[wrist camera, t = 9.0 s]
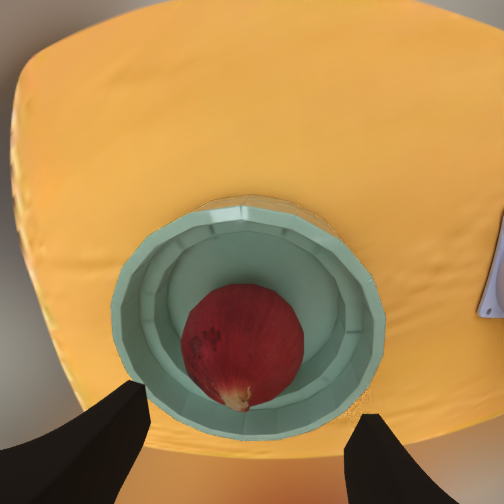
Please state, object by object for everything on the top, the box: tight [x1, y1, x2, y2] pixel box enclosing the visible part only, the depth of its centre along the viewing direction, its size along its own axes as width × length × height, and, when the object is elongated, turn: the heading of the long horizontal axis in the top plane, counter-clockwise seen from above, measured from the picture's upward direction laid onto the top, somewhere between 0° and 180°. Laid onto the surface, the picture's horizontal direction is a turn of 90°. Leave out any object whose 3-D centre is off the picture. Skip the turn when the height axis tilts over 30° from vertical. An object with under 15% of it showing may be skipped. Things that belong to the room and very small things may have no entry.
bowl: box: [111, 195, 386, 441], centre depth 16 cm, size 13×13×5 cm
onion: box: [180, 283, 304, 413], centre depth 14 cm, size 6×6×8 cm
